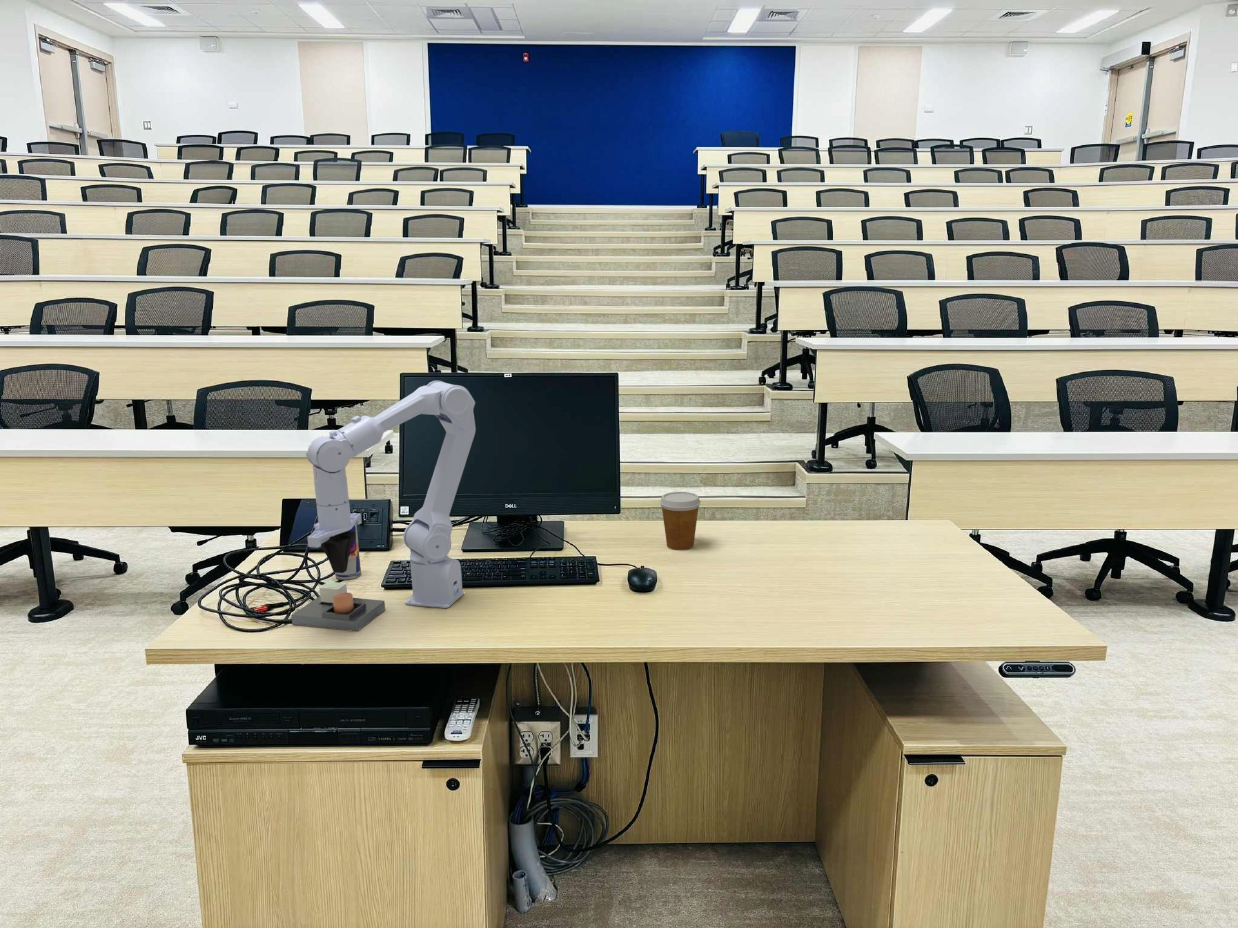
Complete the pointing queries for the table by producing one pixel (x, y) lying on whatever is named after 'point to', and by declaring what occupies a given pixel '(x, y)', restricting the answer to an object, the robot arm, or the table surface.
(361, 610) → the panel
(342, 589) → the on key
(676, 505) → the disposable coffee cup
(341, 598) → the button
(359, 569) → the energy drink
